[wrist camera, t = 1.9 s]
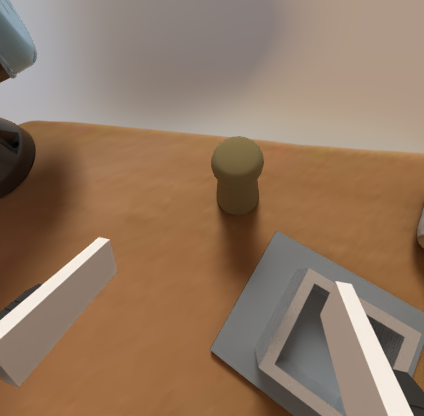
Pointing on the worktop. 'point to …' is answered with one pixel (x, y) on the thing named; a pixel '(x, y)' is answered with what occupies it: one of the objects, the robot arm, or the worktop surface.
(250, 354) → the base plate
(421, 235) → the ceramic mug
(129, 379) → the worktop surface
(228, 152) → the cork
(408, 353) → the metal collar
